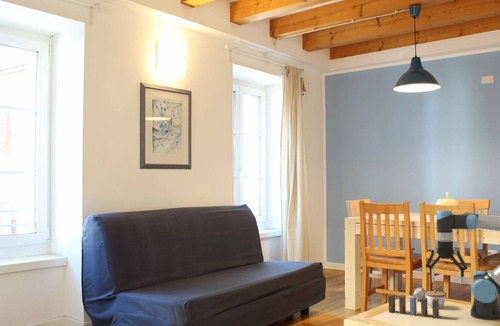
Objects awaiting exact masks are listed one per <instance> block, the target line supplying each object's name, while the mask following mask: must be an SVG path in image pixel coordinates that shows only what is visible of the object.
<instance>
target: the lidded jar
mask: <svg viewBox="0 0 500 326" xmlns="http://www.w3.org/2000/svg"><path fill="white" fill-rule="evenodd" d="M425 297H426V298H427V305H428V306H429V308H432V309H433V305H432V300H433V299H439V309H441V308H442V307H443V306H444V305H445V302H446V293H445V292H442V291H438V290H436V289H434V290H429V291H427V290H426V292H425Z"/></svg>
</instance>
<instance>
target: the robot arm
mask: <svg viewBox="0 0 500 326" xmlns="http://www.w3.org/2000/svg"><path fill="white" fill-rule="evenodd" d="M435 220H436V237H437V238H436V239H437V249H434V248H433V249H431V253H430V255H429V258H428V261H427V262H426V264H425V268H428V270H429V275H430V276H431V283H434V282H435V281H436V279H435V278H436V277H435V268H434V266H436V264H437V263H439V261H440V259H441V260H451V261H452V262H453V263H454V264H455V265H456V266H457V268H458V269H459V270H458V276H459V277H458V278H459V279H458V280H459V285H462V284H463V278H464V276H465V270H466V271H467V269H468V266H467V264H466V262H465V260H464V258H463V256H462V255H461V250H454V241H453V240H454V237H453V236H454V234H453V233H454V231H453V230H471V231H472V230H477V229H481V230H486V231H487V230H489V231H494V232H495V231H496V232H500V215H499V216H497V215H490V214H481V213H473V212H472V213H471V212H463V213H462V214H461V213H460V214H456V213H455V214H453V211H452V210H449V209H448V210H447V209H446V210H445V209H444V210H441V209H440V210H438V211H436V219H435ZM436 253H437V255H438V256H437V257H436V258H435V260H434V261H433V258H434V257H435V254H436ZM454 254H455V255H456V256H454ZM455 257H458V260H459V261H458V260H457V259H456V258H455ZM432 261H433V262H432ZM472 278H473V281H472V284H471V287H470V290H471V294H472V296H473V302H472V305H471V308H470V316H471V317H474V318H475V319H482V320H488V321H489V320H491V321H492V320H493V321H496V320H497V321H498V320H500V303H499V301H500V300H499V296H500V264H499V265H498V266H496V267H495V268H494V269H493V270H490V269H487V270H486V271H483V270H482V271H481V270H480V271H479V270H478V271H477V270H476V271H473V275H472Z"/></svg>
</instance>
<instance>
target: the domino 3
mask: <svg viewBox="0 0 500 326" xmlns="http://www.w3.org/2000/svg"><path fill="white" fill-rule="evenodd" d="M409 311H410V312H409V313H410V316H413V315H414V316H416V315H417V314H416V313H417V299H416V296H412V295H411V297H409ZM415 314H416V315H415Z"/></svg>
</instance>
